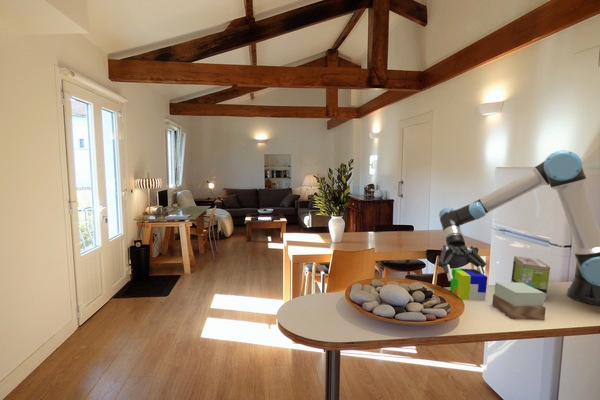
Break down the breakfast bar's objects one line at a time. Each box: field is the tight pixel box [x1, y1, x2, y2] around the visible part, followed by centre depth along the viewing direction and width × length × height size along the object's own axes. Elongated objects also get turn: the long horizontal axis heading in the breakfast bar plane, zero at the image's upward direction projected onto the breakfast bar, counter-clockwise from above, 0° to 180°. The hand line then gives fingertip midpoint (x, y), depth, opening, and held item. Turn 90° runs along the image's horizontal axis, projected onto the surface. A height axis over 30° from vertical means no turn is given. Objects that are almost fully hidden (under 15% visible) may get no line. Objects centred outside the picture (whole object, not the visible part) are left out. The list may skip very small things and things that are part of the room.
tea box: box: [510, 255, 551, 302], centre depth 149 cm, size 15×10×15 cm
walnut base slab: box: [491, 293, 547, 321], centre depth 128 cm, size 12×12×5 cm
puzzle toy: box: [449, 267, 488, 301], centre depth 144 cm, size 10×10×10 cm
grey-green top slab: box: [493, 281, 545, 306], centre depth 128 cm, size 11×11×5 cm
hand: (466, 280), depth 144 cm, fingers open, 13 cm apart
